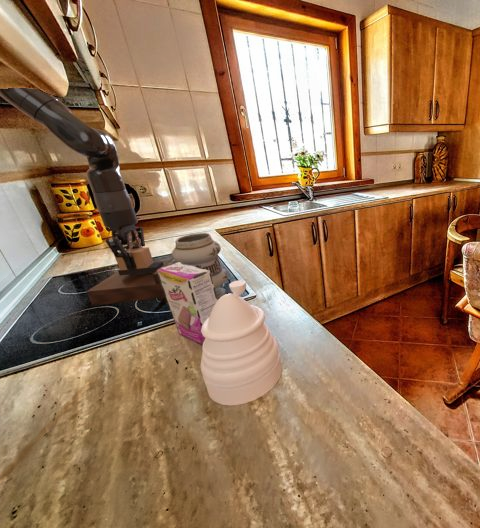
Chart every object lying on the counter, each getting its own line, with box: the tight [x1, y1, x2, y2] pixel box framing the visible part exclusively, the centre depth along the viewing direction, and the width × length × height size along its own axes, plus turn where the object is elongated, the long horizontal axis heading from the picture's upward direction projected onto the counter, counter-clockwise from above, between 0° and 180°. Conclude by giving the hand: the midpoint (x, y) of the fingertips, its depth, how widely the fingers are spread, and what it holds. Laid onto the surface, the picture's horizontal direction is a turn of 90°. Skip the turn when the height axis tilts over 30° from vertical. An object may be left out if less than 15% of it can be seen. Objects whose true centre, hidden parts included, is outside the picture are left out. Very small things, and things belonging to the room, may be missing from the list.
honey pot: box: [199, 279, 283, 406], centre depth 47 cm, size 13×13×18 cm
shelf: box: [86, 257, 178, 306], centre depth 83 cm, size 18×20×9 cm
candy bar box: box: [157, 262, 218, 346], centre depth 59 cm, size 11×5×16 cm, turn 61°
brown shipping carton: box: [113, 246, 164, 275], centre depth 81 cm, size 10×5×6 cm, turn 100°
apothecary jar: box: [171, 232, 229, 300], centre depth 77 cm, size 12×12×18 cm
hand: (136, 265), depth 82 cm, fingers closed on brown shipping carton, 4 cm apart
